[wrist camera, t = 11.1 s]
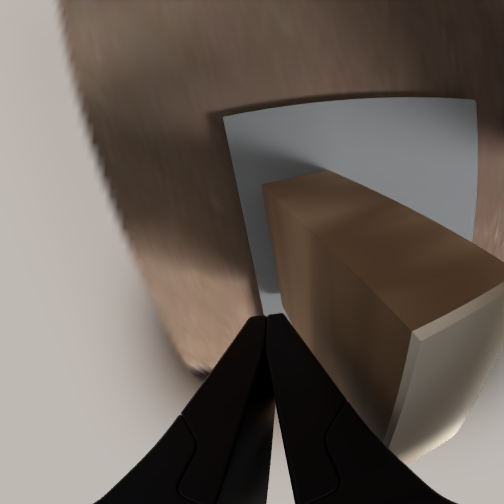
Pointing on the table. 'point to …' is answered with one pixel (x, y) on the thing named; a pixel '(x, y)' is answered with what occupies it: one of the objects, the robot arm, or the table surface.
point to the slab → (387, 305)
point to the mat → (357, 161)
